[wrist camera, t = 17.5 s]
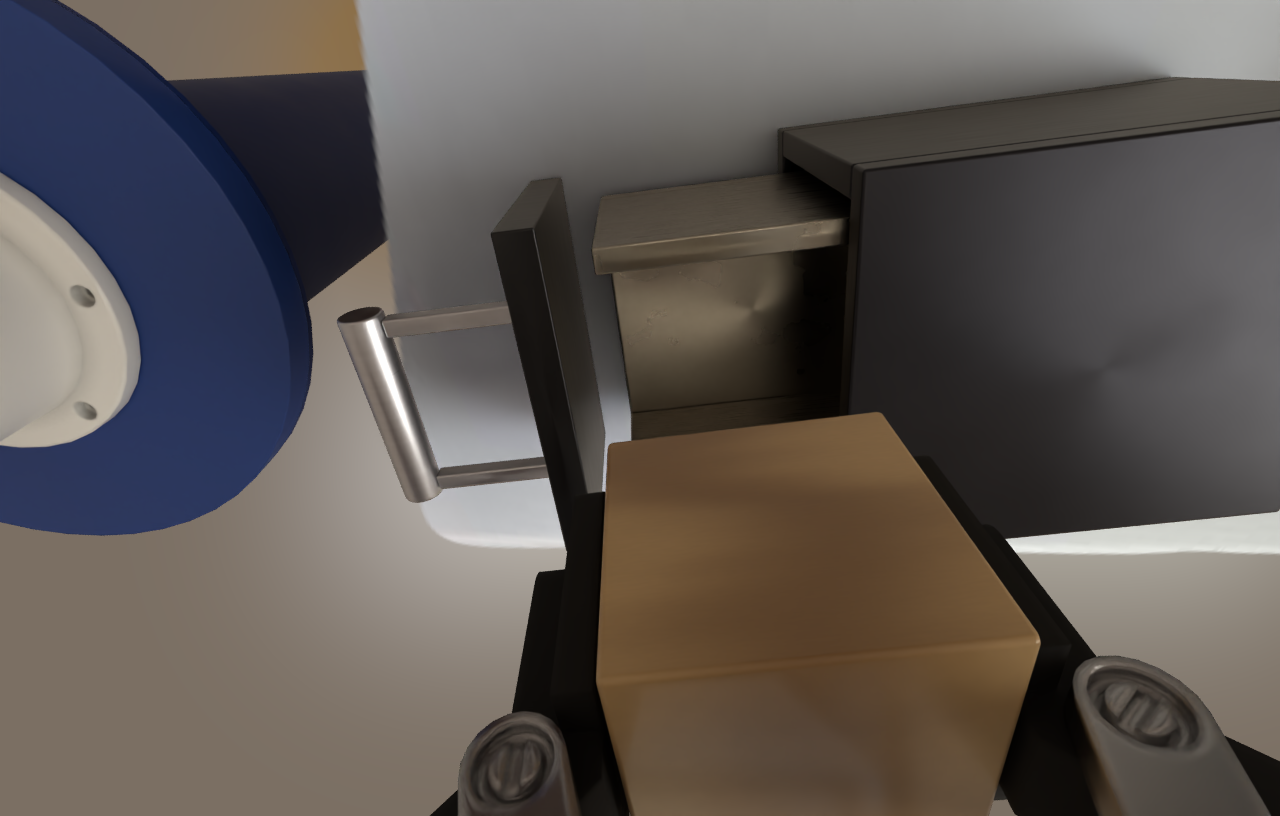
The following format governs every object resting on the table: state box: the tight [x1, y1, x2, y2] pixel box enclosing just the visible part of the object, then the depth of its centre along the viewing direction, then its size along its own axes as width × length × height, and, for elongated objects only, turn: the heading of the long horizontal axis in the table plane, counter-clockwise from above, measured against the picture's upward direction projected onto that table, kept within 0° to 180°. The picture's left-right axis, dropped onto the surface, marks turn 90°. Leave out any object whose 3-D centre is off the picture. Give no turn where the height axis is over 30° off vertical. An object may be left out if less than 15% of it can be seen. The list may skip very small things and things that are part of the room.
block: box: [596, 412, 1041, 816], centre depth 9 cm, size 5×5×5 cm
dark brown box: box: [778, 77, 1280, 539], centre depth 22 cm, size 15×13×10 cm
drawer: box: [337, 170, 851, 551], centre depth 23 cm, size 19×12×8 cm, turn 97°
